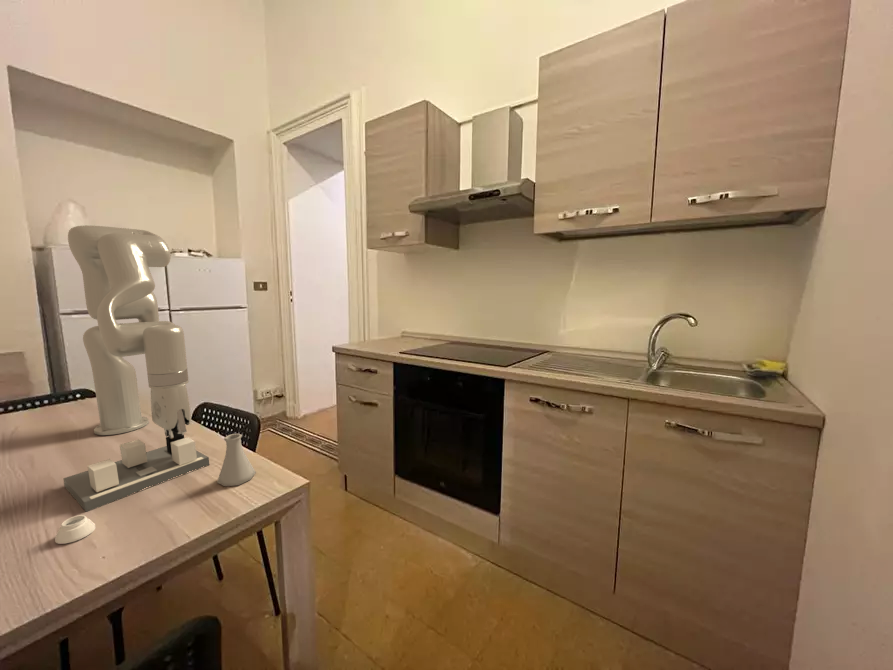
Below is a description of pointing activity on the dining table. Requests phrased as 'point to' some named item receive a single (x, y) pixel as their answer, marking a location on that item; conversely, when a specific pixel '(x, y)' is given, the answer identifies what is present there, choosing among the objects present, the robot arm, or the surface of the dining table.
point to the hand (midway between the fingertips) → (176, 451)
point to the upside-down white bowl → (74, 529)
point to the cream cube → (183, 451)
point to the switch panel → (131, 478)
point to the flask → (235, 463)
